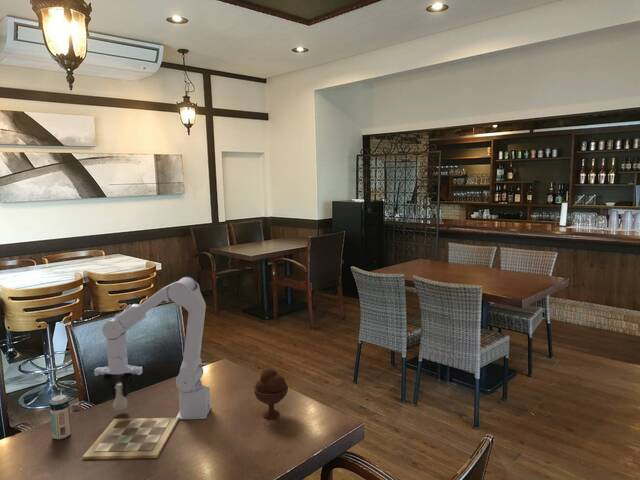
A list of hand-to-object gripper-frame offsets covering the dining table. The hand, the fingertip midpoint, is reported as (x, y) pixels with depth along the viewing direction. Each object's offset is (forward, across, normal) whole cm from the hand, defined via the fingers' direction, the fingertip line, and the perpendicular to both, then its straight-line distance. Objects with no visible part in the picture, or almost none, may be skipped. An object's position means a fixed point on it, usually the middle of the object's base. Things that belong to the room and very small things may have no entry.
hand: (120, 395), depth 146 cm
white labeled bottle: (+6, +12, +13) cm, 19 cm away
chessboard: (+6, -10, +15) cm, 19 cm away
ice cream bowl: (+6, -49, +3) cm, 49 cm away
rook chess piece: (+4, 0, 0) cm, 4 cm away
